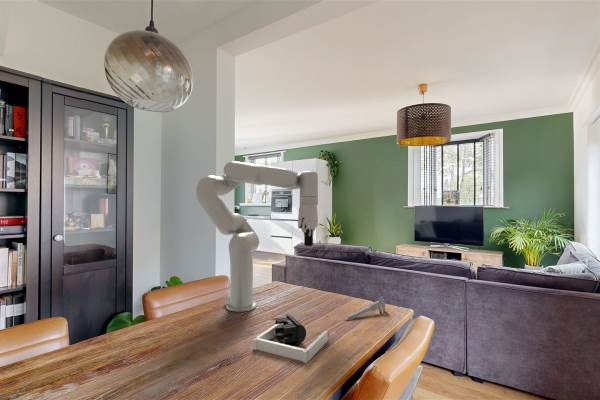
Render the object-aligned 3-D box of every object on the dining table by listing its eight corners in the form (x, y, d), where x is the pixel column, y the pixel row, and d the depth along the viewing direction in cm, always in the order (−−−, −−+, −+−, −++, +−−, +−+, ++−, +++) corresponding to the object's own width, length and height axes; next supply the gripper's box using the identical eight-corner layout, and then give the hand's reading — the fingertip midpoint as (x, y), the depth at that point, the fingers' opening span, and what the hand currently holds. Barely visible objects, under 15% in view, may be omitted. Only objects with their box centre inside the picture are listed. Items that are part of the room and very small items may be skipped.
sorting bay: (252, 349, 93) (252, 339, 93) (279, 330, 107) (279, 321, 107) (306, 363, 85) (306, 352, 85) (327, 340, 99) (327, 331, 99)
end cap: (306, 345, 96) (306, 323, 96) (285, 349, 93) (285, 327, 93) (294, 333, 105) (294, 313, 105) (274, 336, 102) (274, 316, 102)
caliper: (383, 311, 127) (383, 296, 127) (385, 312, 126) (385, 296, 127) (344, 320, 117) (344, 303, 117) (346, 321, 116) (346, 304, 116)
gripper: (308, 201, 135) (308, 243, 135) (292, 201, 122) (292, 247, 121) (324, 201, 132) (324, 244, 131) (309, 200, 118) (309, 248, 118)
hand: (308, 245), depth 126 cm, fingers closed
